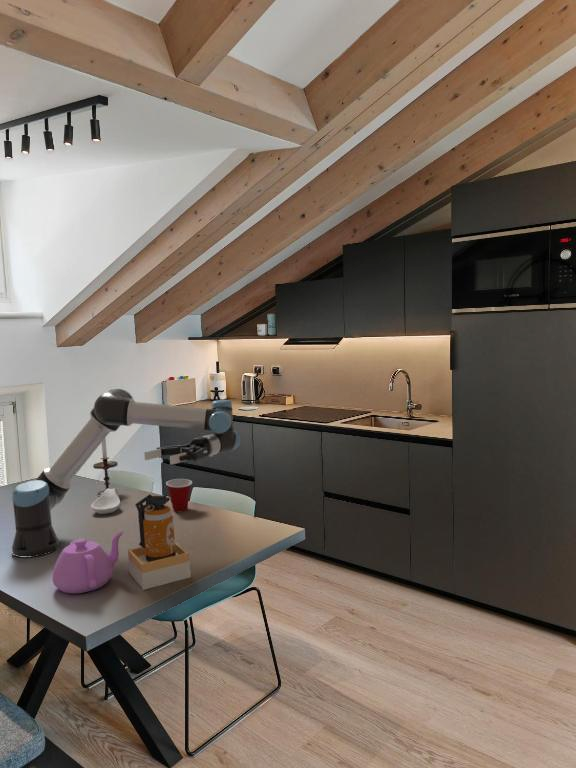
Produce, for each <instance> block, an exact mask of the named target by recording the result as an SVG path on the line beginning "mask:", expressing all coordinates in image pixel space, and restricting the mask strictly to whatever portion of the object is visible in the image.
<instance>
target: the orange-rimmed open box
mask: <svg viewBox="0 0 576 768" xmlns="http://www.w3.org/2000/svg"><path fill="white" fill-rule="evenodd" d="M175 552H176V556H172V557H168V558H163V559H159V560H155V561H151V562H148V561H147V560H146V554H145V548H143V547H142V546H139V547H134V548H130V549H129V548H128V550H127V557H128V570H129V575H130V576H131V577H132V578H133V580H134V581H136V583H137V585H139V587H140V588H141V589H142V590H144V591H145V590H148V589H152V588H155V587H160V586H163V585H167V584H171V583H174V582H178V581H182V580H185V579H186V580H187V579H190V578H192V575H191V559H190V552H188V551H187V550H186V549H185V548H184V547H182V545H180V544H179V543H178V542H176V541H175Z"/></svg>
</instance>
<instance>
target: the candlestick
mask: <svg viewBox="0 0 576 768" xmlns="http://www.w3.org/2000/svg"><path fill="white" fill-rule="evenodd" d="M106 441H107V439H106V438H105V439H104V440H103V441H102V442H101V452H102V453H101V454H102V458H100V460H102V461H101V462H97V463H94V464H93V465H92V468H93V469H98V470H104V477H103V481H104V485H105V489H104V490H101V491H99V492H97V496H98V495H100V496H101V495H102V494H100V493H101V492H104V491H105V490H106V489H110V487H109V485H110V479H111V478H110V476H109V473H108V471H109V469H111V468H115V467H117V466H118V461H112V460H110V461H109V460H108V459H110V457H108V454H107V453H108V452H107V442H106ZM117 492H118V493H119V490H117Z"/></svg>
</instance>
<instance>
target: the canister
mask: <svg viewBox="0 0 576 768" xmlns="http://www.w3.org/2000/svg"><path fill="white" fill-rule="evenodd" d="M169 501H171V499H170V496H168V497H167V495H164V494H163V495H152V494H148V495H147V496H145V497H144V498H143V499H141V500H140V501H137V503H135V507H136V509H137V511H138V512H137V514H138V515H137V517H138V526H139V527H138V528H139V539H140V540H139V541H140V542H139V544H138V546H139V547H143V548H145V554H146V560H147V561H148V562H151V561H155V560H159V559H163V558H168V557H172V556H176V552H175V542H176V540H175V524H174V516H173V514H172V511H171V508H170V506H169V505H166V504H167V503H168V502H169ZM144 503H145V504H144Z"/></svg>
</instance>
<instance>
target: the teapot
mask: <svg viewBox="0 0 576 768" xmlns="http://www.w3.org/2000/svg"><path fill="white" fill-rule="evenodd" d="M124 533H125V531H124V530H123V531H120V532H117V534H115V535H113V537H112V539H111V549H110V551H109V552H108V553H107V552H106V551H105V549H104V548H103V547H102V545H100V544H99V543H98V542H96V541H91V540H90V541H88V540H87V539H85V538H79V539H76V540H74V541H71V542H69V545H67V546H65V547H64V548H63V549H62V551H61V552H60V554H59V556H58V558H57V560H56V562H55V564H54V568H53V572H52V583H53V585H54V587H56V588H57V589H58V590H59V591H61V592H63V593H66V594H81V593H87V592H88V593H89V592H92V591H94V590H97V589H100V588H102V587H103V586H105V585H106V584H107V583H108V582H109V581H110V579H111V577H112V576H113V573H114V566H115V565H116V564H117V562H118V559H119V552H120V551H119V540H120V538H121V536H122V535H123V534H124Z"/></svg>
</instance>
